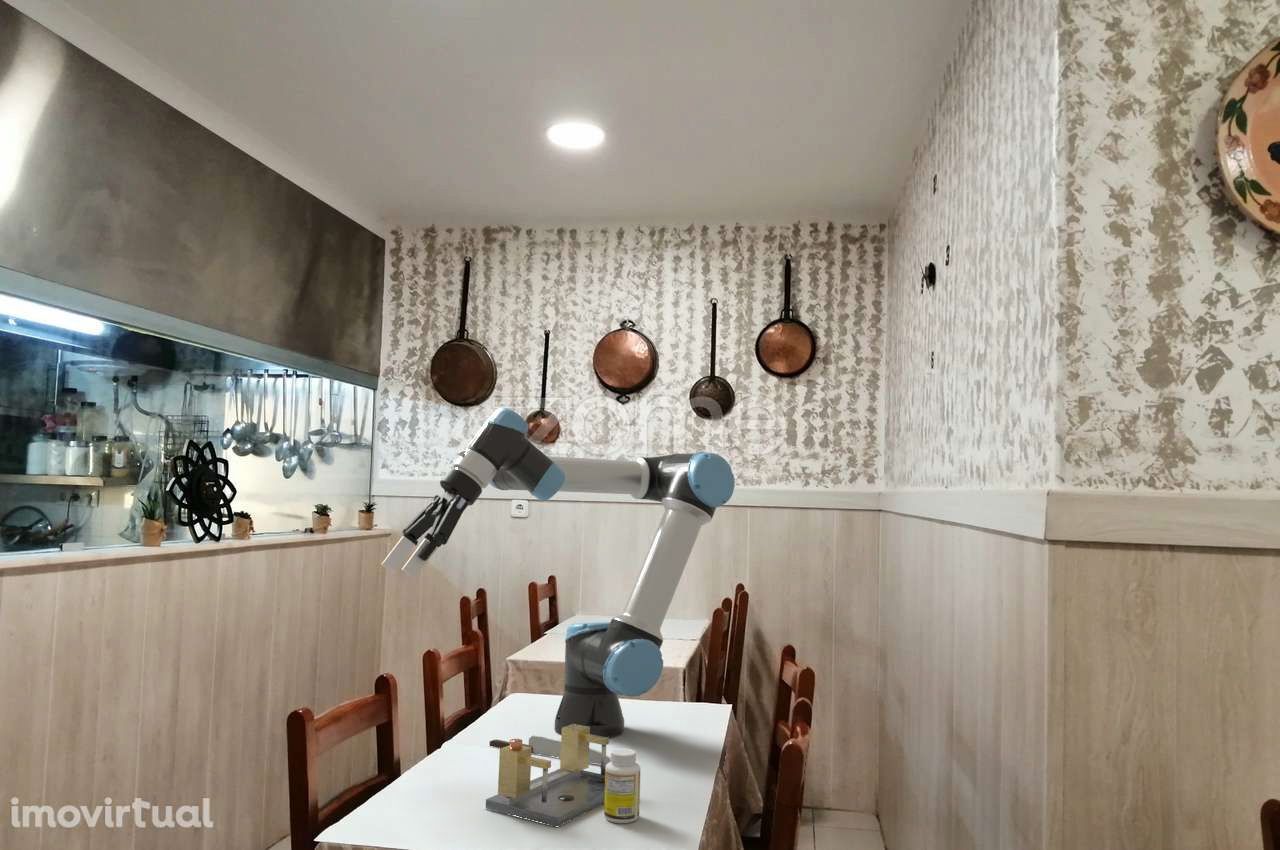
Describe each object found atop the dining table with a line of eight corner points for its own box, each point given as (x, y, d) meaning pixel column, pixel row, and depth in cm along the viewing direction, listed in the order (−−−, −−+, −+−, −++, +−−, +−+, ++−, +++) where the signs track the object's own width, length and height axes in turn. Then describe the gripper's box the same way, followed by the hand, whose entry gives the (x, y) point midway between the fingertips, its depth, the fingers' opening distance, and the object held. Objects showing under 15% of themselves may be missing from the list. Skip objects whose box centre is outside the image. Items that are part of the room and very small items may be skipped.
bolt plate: (565, 774, 161) (565, 760, 161) (631, 789, 153) (631, 774, 154) (485, 809, 142) (486, 792, 142) (556, 827, 135) (557, 810, 135)
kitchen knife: (489, 730, 178) (623, 748, 165) (492, 729, 179) (625, 747, 166) (489, 752, 177) (622, 772, 164) (492, 750, 178) (625, 770, 165)
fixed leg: (571, 764, 159) (573, 723, 159) (611, 773, 154) (612, 731, 155) (560, 769, 156) (561, 727, 156) (600, 778, 151) (601, 735, 152)
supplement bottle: (619, 809, 143) (622, 744, 144) (646, 818, 140) (648, 751, 141) (596, 818, 139) (598, 751, 140) (623, 827, 136) (625, 758, 136)
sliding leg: (512, 789, 144) (514, 736, 145) (554, 799, 140) (556, 744, 141) (497, 795, 141) (500, 741, 142) (540, 805, 137) (542, 749, 137)
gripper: (432, 467, 177) (364, 554, 169) (475, 464, 156) (400, 563, 148) (460, 490, 180) (394, 577, 172) (507, 490, 158) (434, 589, 150)
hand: (397, 571), depth 160 cm, fingers open, 13 cm apart
